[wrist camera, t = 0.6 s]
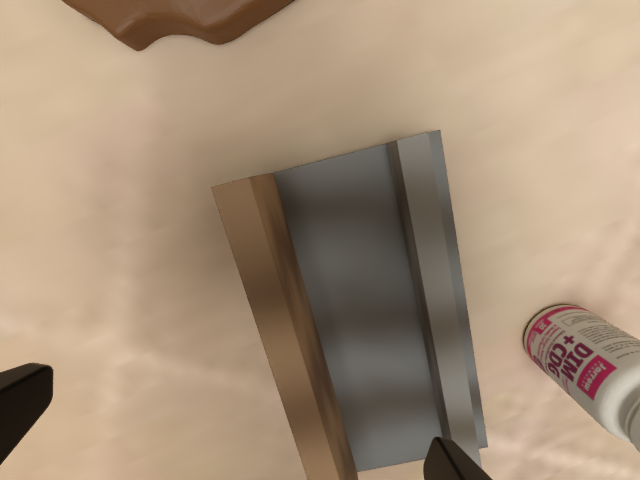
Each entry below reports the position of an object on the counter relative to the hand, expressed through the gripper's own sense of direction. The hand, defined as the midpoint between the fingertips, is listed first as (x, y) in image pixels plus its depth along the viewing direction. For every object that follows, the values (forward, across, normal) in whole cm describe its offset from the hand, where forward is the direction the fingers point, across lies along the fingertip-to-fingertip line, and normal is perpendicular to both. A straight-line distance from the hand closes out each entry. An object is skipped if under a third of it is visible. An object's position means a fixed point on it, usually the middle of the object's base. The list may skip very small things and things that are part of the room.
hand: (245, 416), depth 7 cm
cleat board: (+13, -8, +2) cm, 15 cm away
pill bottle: (+13, -18, +2) cm, 23 cm away
